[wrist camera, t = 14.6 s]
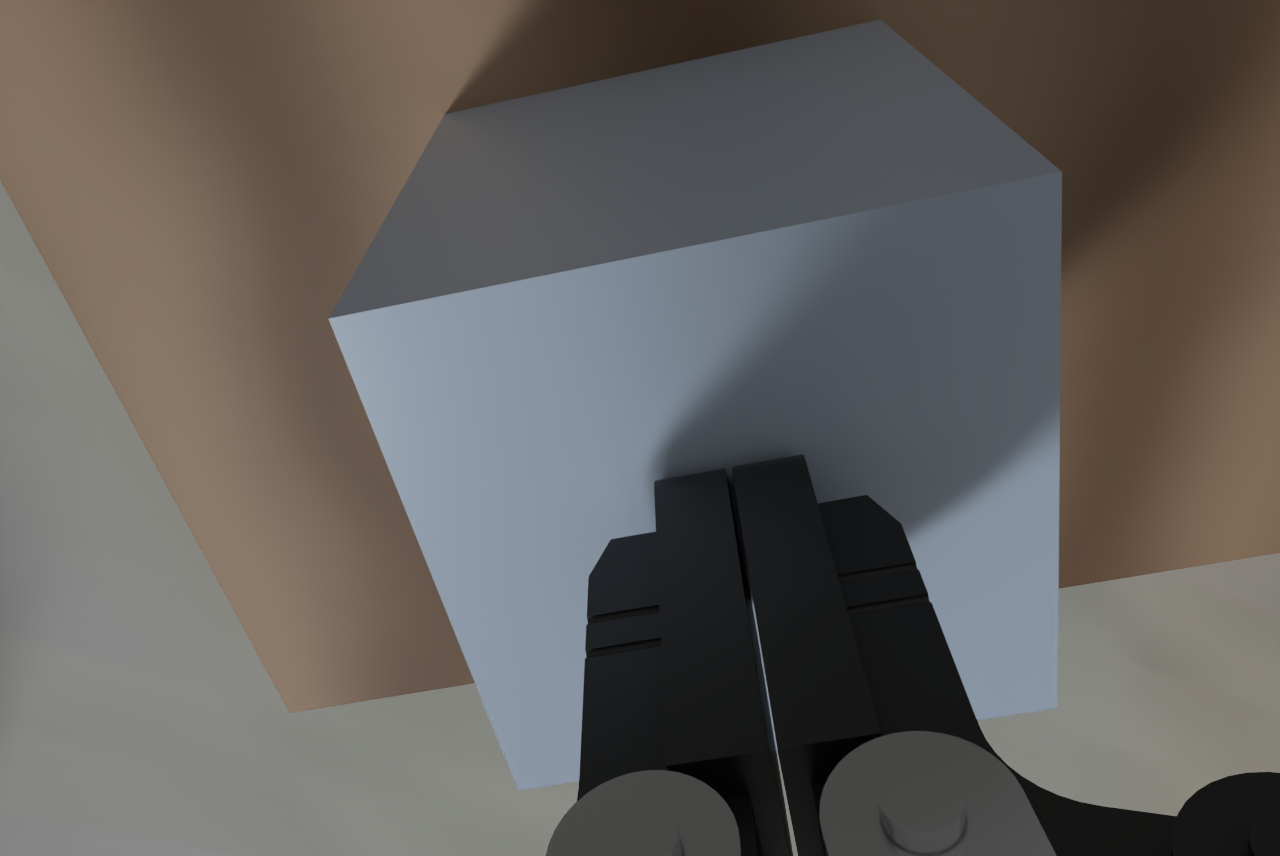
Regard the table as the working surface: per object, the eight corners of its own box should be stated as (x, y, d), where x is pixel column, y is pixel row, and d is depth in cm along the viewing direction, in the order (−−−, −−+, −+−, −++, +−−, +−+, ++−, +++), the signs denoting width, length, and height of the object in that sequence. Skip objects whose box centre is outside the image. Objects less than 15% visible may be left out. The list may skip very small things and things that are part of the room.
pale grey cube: (551, 468, 18) (518, 790, 12) (444, 114, 15) (327, 318, 9) (910, 403, 18) (1057, 707, 12) (880, 19, 14) (1061, 171, 9)
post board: (319, 630, 24) (207, 939, 17) (-65, -154, 15) (-556, -121, 9) (1217, 478, 22) (1465, 760, 15) (1323, -504, 14) (1954, -779, 7)
